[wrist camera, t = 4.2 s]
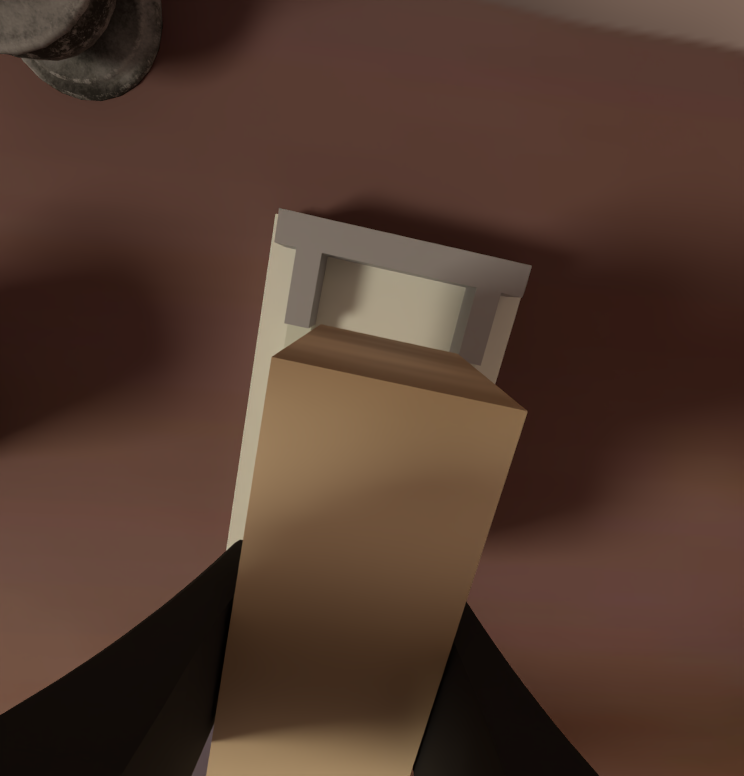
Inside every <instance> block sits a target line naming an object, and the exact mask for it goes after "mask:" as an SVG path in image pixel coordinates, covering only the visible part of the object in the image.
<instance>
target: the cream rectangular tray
mask: <svg viewBox="0 0 744 776" xmlns="http://www.w3.org/2000/svg"><path fill="white" fill-rule="evenodd" d="M531 268H532V266H531V265H527V264H523V263H518V262H514V261H509V260H505V259H501V258H496V257H492V256H487V255H483V254H479V253H474V252H470V251H465V250H461V249H457V248H452V247H448V246H443V245H439V244H435V243H430V242H426V241H421V240H417V239H413V238H408V237H404V236H400V235H395V234H391V233H386V232H382V231H378V230H373V229H369V228H364V227H360V226H356V225H351V224H347V223H342V222H338V221H334V220H329V219H325V218H320V217H316V216H312V215H307V214H303V213H298V212H294V211H290V210H285V209H281V208H279V213H278V214H276V215H275V222H274V229H273V236H272V243H271V249H270V256H269V263H268V270H267V277H266V283H265V290H264V297H263V304H262V311H261V317H260V324H259V331H258V338H257V345H256V351H255V358H254V365H253V372H252V379H251V385H250V392H249V399H248V406H247V413H246V419H245V426H244V433H243V440H242V447H241V454H240V460H239V467H238V474H237V481H236V488H235V494H234V501H233V508H232V515H231V522H230V528H229V535H228V542H227V549H226V551H227V550H228V549H229V548H230V547H231V546H232V545H233V544H234V543H235V542H237V541H239V540H243V536H244V530H245V523H246V517H247V511H248V504H249V498H250V491H251V485H252V479H253V472H254V466H255V459H256V453H257V447H258V440H259V434H260V427H261V421H262V415H263V408H264V402H265V395H266V389H267V383H268V376H269V370H270V363H271V357H272V356H274V355H275V354H277V353H278V352H280V351H281V350H283V349H284V348H286V347H287V346H289V345H290V344H292V343H293V342H295V341H296V340H298V339H299V338H301V337H302V336H304V335H305V334H307V333H308V332H310V331H311V330H313V329H314V328H316V327H317V326H319V325H320V324H323V325H327V326H332V327H337V328H341V329H346V330H350V331H355V332H360V333H364V334H369V335H374V336H378V337H383V338H387V339H392V340H397V341H401V342H406V343H410V344H415V345H420V346H424V347H429V348H434V349H438V350H443V351H447V352H452V353H457V354H459V355H460V356H461V357H462V358H463V359H465V360H466V361H467V362H468V363H470V364H471V365H472V366H473V367H474V368H476V369H477V370H478V371H479V372H481V373H482V374H483V375H484V376H485V377H487V378H488V379H489V380H490V381H492V382H493V383H494V384H495V383H496V380H497V377H498V373H499V370H500V367H501V363H502V360H503V356H504V353H505V350H506V346H507V343H508V340H509V336H510V333H511V329H512V326H513V323H514V319H515V316H516V313H517V309H518V306H519V302H520V299H521V298H523V294H524V291H525V288H526V284H527V281H528V278H529V274H530V271H531Z"/></svg>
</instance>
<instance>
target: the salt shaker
mask: <svg viewBox="0 0 744 776" xmlns="http://www.w3.org/2000/svg"><path fill="white" fill-rule="evenodd" d="M162 27H163V24H162V8H161V0H0V54H9V55H12V56H15V57H19V58H22V60H23V61H24V62H25V63H26V64H27V65H28V66H29V68H30V69H31V70H32V71H33V72H34V73H35V74H36V75H37V76H38V77H39V78H40V79H41V80H43V81H44V82H46V83H47V84H49V85H51V86H52V87H54V88H55V89H57V90H58V91H60V92H61V93H64V94H67V95H69V96H72V97H75V98H78V99H81V100H96V101H103V100H107V99H110V98H114V97H118V96H121V95H123V94H124V93H126V92H127V91H129V90H130V89H132V88H133V87H135V86H137V85H138V83H139V82H140V81H141V80H142V79H143V77H144V76H145V75H146V74H147V73H148V71H149V70H150V68H151V66H152V64H153V62H154V59H155V57H156V55H157V52H158V50H159V45H160V39H161V33H162Z"/></svg>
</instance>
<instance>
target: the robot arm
mask: <svg viewBox="0 0 744 776" xmlns="http://www.w3.org/2000/svg"><path fill="white" fill-rule="evenodd" d="M242 543H243V540H239V541H237V542H235V543H234V544H233V545H232V546H231V547H230V548H229V549H228V550H227V551H226V552H224V553H223V554H222V555H221V556H220V557H219V558H218V559H217V560H216V561H215V562H214V563H213V564H212V565H210V566H209V567H208V568H207V569H206V570H205V571H204V572H203V573H201V574H200V575H199V576H198V577H197V578H196V579H195V580H193V581H192V582H191V583H190V584H189V585H187V586H186V587H185V588H184V589H183V590H181V591H180V592H179V593H178V594H177V595H175V596H174V597H173V598H172V599H171V600H169V601H168V602H167V603H166V604H164V605H163V606H162V607H161V608H159V609H158V610H157V611H155V612H154V613H153V614H151V615H150V616H149V617H147V618H146V619H145V620H143V621H142V622H141V623H139V624H138V625H137V626H135V627H134V628H133V629H132V630H130V631H129V632H128V633H126V634H125V635H124V636H122V637H121V638H119V639H118V640H117V641H115V642H114V643H112V644H111V645H110V646H108V647H107V648H105V649H104V650H102V651H101V652H100V653H98V654H97V655H95V656H94V657H92V658H91V659H89V660H88V661H86V662H85V663H83V664H82V665H80V666H79V667H77V668H76V669H74V670H73V671H71V672H69V673H68V674H66V675H65V676H63V677H62V678H60V679H59V680H57V681H56V682H54V683H52V684H51V685H49V686H47V687H46V688H44V689H43V690H41V691H39V692H38V693H36V694H34V695H33V696H31V697H29V698H28V699H26V700H24V701H23V702H21V703H19V704H18V705H16V706H15V707H13V708H11V709H10V710H8V711H6V712H5V713H3V714H1V715H0V776H206V773H207V767H208V761H209V754H210V748H211V741H212V735H213V729H214V722H215V716H216V709H217V703H218V696H219V690H220V684H221V677H222V671H223V664H224V658H225V652H226V645H227V639H228V632H229V626H230V620H231V613H232V607H233V600H234V594H235V588H236V581H237V575H238V568H239V562H240V556H241V549H242ZM413 772H414V776H599V775H598V774H597V773H596V772H595V770H594V769H593V768H592V767H591V766H590V765H589V764H588V762H587V761H586V760H585V759H584V758H583V757H582V756H581V754H580V753H579V752H578V751H577V750H576V749H575V748H574V746H573V745H572V744H571V743H570V742H569V741H568V739H567V738H566V737H565V736H564V735H563V733H562V732H561V731H560V730H559V729H558V727H557V726H556V725H555V724H554V722H553V721H552V720H551V719H550V718H549V716H548V715H547V714H546V712H545V711H544V710H543V709H542V707H541V706H540V705H539V703H538V702H537V701H536V700H535V698H534V697H533V696H532V694H531V693H530V692H529V691H528V689H527V688H526V687H525V685H524V684H523V683H522V681H521V680H520V679H519V677H518V676H517V675H516V673H515V672H514V670H513V669H512V668H511V666H510V665H509V664H508V662H507V661H506V659H505V658H504V657H503V655H502V654H501V652H500V651H499V649H498V648H497V647H496V645H495V644H494V642H493V641H492V639H491V638H490V636H489V635H488V633H487V632H486V631H485V629H484V628H483V626H482V625H481V623H480V622H479V620H478V619H477V617H476V616H475V614H474V613H473V611H472V610H471V608H470V606H469V605H468V603H467V602H466V604H465V607H464V610H463V613H462V616H461V619H460V622H459V625H458V629H457V632H456V635H455V638H454V641H453V644H452V647H451V650H450V653H449V656H448V659H447V663H446V666H445V669H444V672H443V675H442V678H441V681H440V684H439V687H438V690H437V693H436V697H435V700H434V703H433V706H432V709H431V712H430V715H429V718H428V721H427V724H426V727H425V731H424V734H423V737H422V740H421V743H420V746H419V749H418V752H417V755H416V758H415V761H414V765H413Z"/></svg>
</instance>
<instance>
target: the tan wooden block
mask: <svg viewBox="0 0 744 776" xmlns="http://www.w3.org/2000/svg"><path fill="white" fill-rule="evenodd" d="M527 412H528V411H527V410H526V409H524V408H523V407H522V406H521V405H520V404H518V403H517V402H516V401H515V400H513V399H512V398H511V397H510V396H509V395H507V394H506V393H505V392H504V391H502V390H501V389H500V388H499V387H498V386H496V385H495V384H494V383H493V382H492V381H490V380H489V379H488V378H487V377H485V376H484V375H483V374H482V373H481V372H479V371H478V370H477V369H476V368H474V367H473V366H472V365H471V364H470V363H468V362H467V361H466V360H465V359H463V358H462V357H461V356H460V355H459V354H457V353H452V352H447V351H443V350H438V349H434V348H429V347H424V346H420V345H415V344H410V343H406V342H401V341H397V340H392V339H387V338H383V337H378V336H374V335H369V334H364V333H360V332H355V331H350V330H346V329H341V328H337V327H332V326H327V325H323V324H320V325H319V326H317V327H316V328H314V329H313V330H311V331H310V332H308V333H307V334H305V335H304V336H302V337H301V338H299V339H298V340H296V341H295V342H293V343H292V344H290V345H289V346H287V347H286V348H284V349H283V350H281V351H280V352H278V353H277V354H275V355H274V356H272V357H271V363H270V370H269V376H268V383H267V389H266V395H265V402H264V408H263V415H262V421H261V427H260V434H259V440H258V447H257V453H256V459H255V466H254V472H253V479H252V485H251V491H250V498H249V504H248V511H247V517H246V523H245V530H244V536H243V543H242V549H241V556H240V562H239V568H238V575H237V581H236V588H235V594H234V600H233V607H232V613H231V620H230V626H229V632H228V639H227V645H226V652H225V658H224V664H223V671H222V677H221V684H220V690H219V696H218V703H217V709H216V716H215V722H214V729H213V735H212V741H211V748H210V754H209V761H208V767H207V773H206V776H410V774H411V771H412V768H413V765H414V761H415V758H416V755H417V752H418V749H419V746H420V743H421V740H422V737H423V734H424V731H425V727H426V724H427V721H428V718H429V715H430V712H431V709H432V706H433V703H434V700H435V697H436V693H437V690H438V687H439V684H440V681H441V678H442V675H443V672H444V669H445V666H446V663H447V659H448V656H449V653H450V650H451V647H452V644H453V641H454V638H455V635H456V632H457V629H458V625H459V622H460V619H461V616H462V613H463V610H464V607H465V604H466V601H467V598H468V595H469V591H470V588H471V585H472V582H473V579H474V576H475V573H476V570H477V567H478V564H479V560H480V557H481V554H482V551H483V548H484V545H485V542H486V539H487V536H488V533H489V530H490V526H491V523H492V520H493V517H494V514H495V511H496V508H497V505H498V502H499V499H500V496H501V492H502V489H503V486H504V483H505V480H506V477H507V474H508V471H509V468H510V465H511V462H512V458H513V455H514V452H515V449H516V446H517V443H518V440H519V437H520V434H521V431H522V428H523V424H524V421H525V418H526V415H527Z"/></svg>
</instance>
